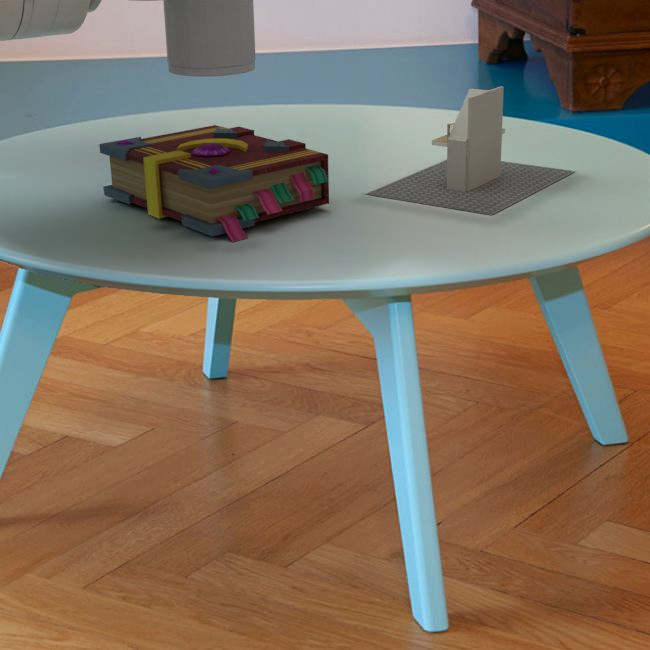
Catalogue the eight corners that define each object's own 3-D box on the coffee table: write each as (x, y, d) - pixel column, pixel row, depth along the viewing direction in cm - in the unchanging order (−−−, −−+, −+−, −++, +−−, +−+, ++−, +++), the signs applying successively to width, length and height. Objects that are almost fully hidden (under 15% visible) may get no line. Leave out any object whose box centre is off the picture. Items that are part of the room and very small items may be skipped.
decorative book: (219, 174, 97) (216, 116, 95) (343, 212, 86) (342, 147, 84) (103, 199, 90) (97, 137, 89) (220, 245, 79) (216, 175, 77)
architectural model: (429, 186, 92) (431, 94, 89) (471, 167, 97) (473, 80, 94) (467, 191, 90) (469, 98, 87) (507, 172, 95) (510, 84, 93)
